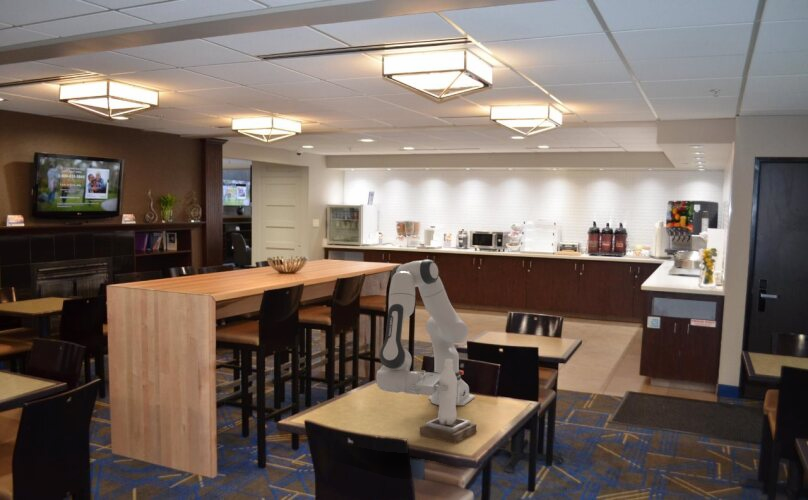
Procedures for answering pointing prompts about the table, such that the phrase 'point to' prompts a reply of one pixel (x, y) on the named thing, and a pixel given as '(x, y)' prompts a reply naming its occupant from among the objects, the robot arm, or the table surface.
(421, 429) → the display stand
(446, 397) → the water bottle
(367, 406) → the table surface
